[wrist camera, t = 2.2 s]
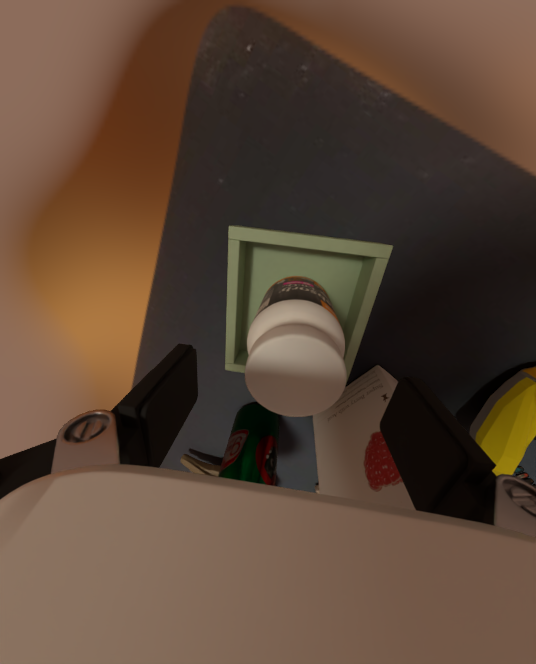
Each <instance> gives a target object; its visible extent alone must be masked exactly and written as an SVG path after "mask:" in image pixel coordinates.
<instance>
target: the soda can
mask: <svg viewBox="0 0 536 664" xmlns="http://www.w3.org/2000/svg"><path fill="white" fill-rule="evenodd" d="M279 426H280V421H279V418H278V416H277V414H276V413H275V412H272V411H270V410H268V409H266V408H265V407H264V406H262V405H261V404H250V405H247V406H245V407H243V408H241V409H240V410H239V411H238V412H237V414H236V417H235V421H234V424H233V427H232V431H231V434H230V437H229V440H228V444H227V447H226V450H225V454H224V457H223V460H222V464H221V467H220V470H219V474H218V477H222V478H228V479H234V480H240V481H246V482H252V483H258V484H264V485H270V486H275V483H276V469H277V454H278V440H279Z"/></svg>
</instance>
